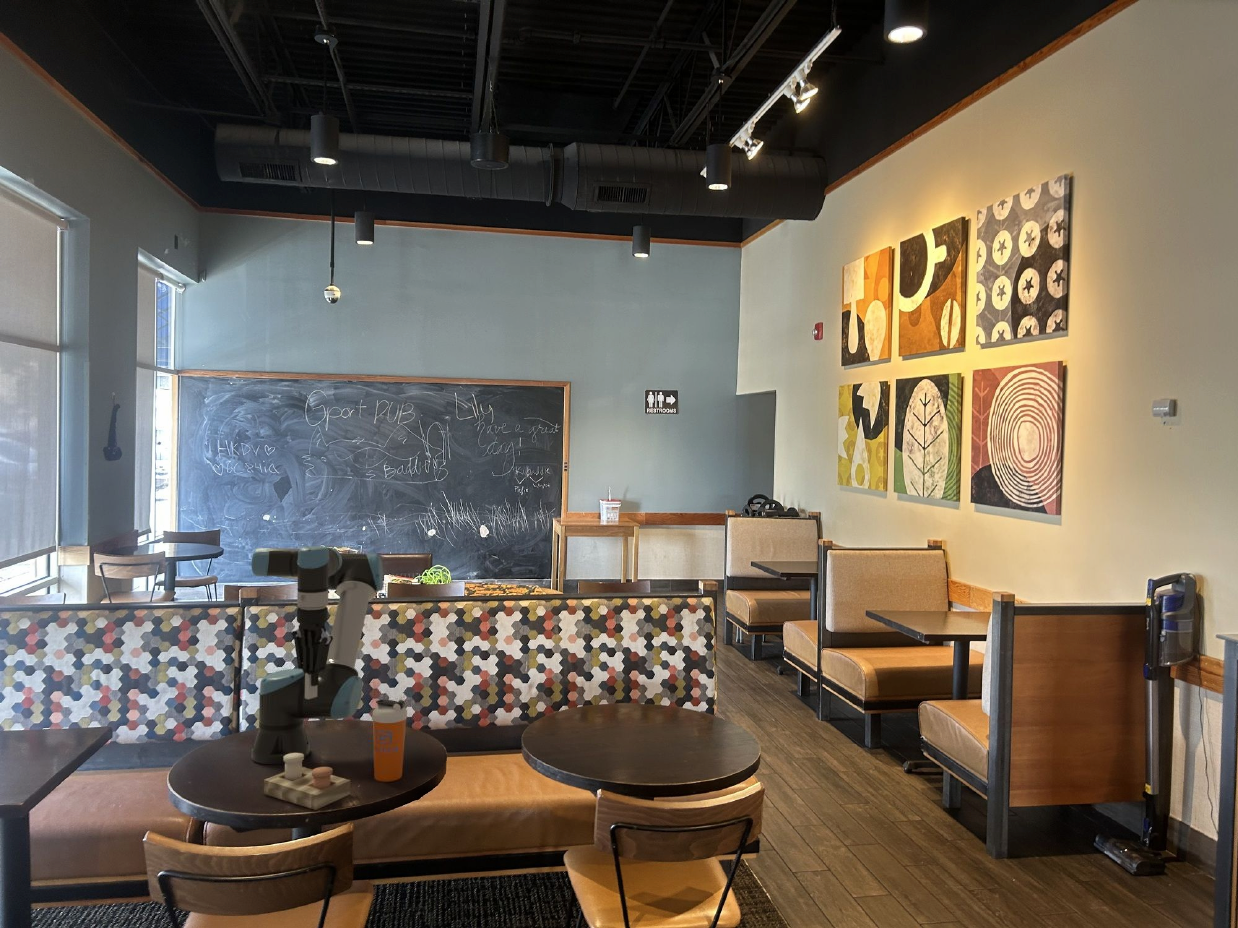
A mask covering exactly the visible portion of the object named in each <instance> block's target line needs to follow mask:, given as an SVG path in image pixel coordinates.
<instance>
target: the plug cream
mask: <svg viewBox="0 0 1238 928" xmlns="http://www.w3.org/2000/svg"><path fill="white" fill-rule="evenodd" d="M303 760H305V757H304V754H302V753H290V754H287V755H285V756H284V759H283V761H284V762H285V763H284V772H285V779H286V780H290V781H294V780H297V779H299V778H302V767H303Z"/></svg>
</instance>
